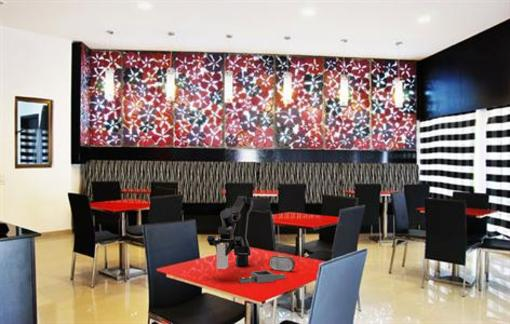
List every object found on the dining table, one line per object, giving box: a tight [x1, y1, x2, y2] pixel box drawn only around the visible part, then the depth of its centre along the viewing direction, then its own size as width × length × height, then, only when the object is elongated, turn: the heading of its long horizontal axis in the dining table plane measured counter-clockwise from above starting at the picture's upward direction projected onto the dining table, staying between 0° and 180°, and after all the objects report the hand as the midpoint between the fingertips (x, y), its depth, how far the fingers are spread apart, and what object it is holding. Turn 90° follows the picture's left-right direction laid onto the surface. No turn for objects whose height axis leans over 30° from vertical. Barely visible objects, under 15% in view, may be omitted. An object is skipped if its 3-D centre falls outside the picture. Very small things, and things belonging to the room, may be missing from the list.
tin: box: [268, 254, 296, 273], centre depth 247 cm, size 15×3×8 cm, turn 65°
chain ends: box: [238, 269, 287, 284], centre depth 228 cm, size 9×24×4 cm, turn 110°
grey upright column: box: [216, 242, 229, 270], centre depth 226 cm, size 4×4×13 cm
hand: (221, 255), depth 225 cm, fingers closed on grey upright column, 4 cm apart
